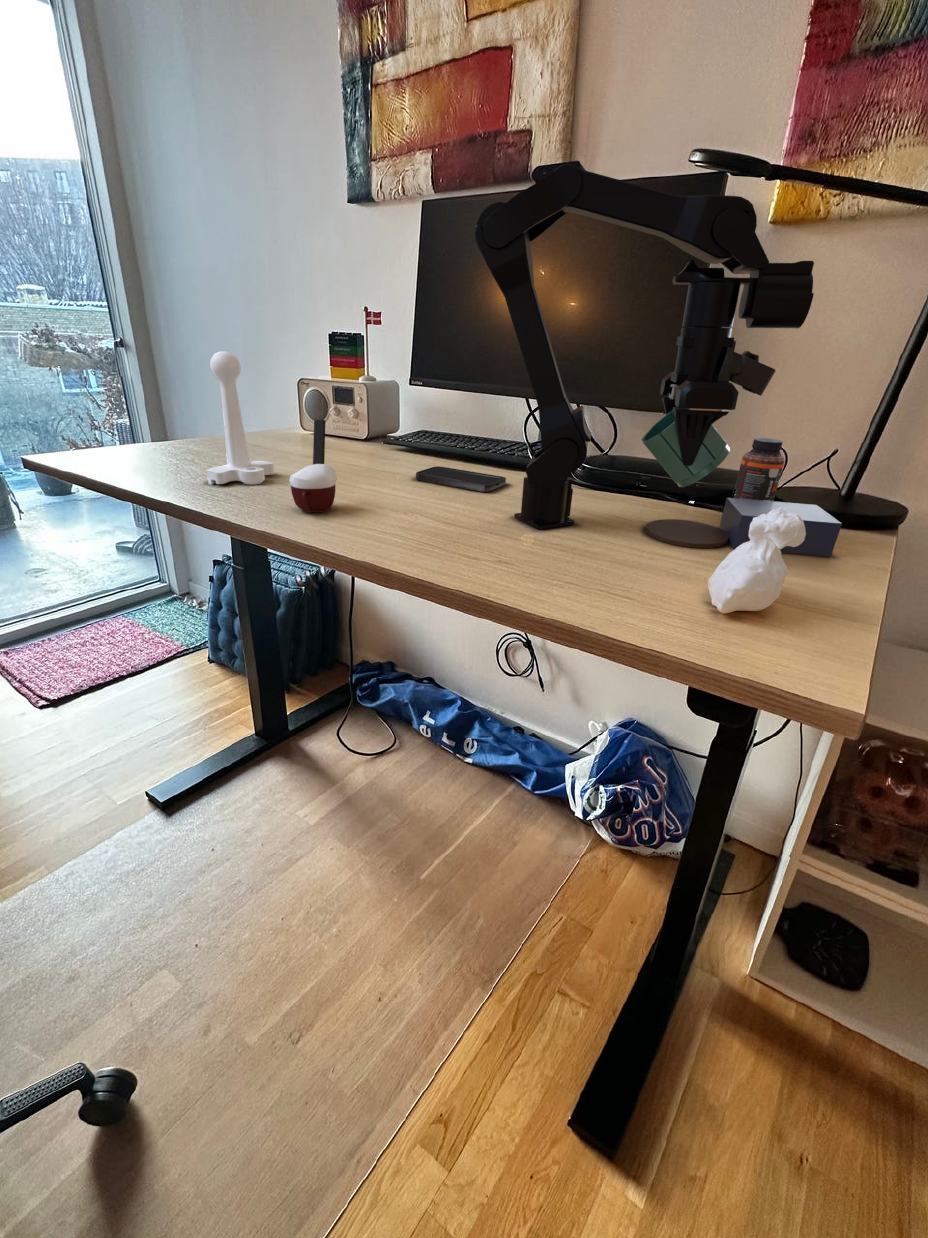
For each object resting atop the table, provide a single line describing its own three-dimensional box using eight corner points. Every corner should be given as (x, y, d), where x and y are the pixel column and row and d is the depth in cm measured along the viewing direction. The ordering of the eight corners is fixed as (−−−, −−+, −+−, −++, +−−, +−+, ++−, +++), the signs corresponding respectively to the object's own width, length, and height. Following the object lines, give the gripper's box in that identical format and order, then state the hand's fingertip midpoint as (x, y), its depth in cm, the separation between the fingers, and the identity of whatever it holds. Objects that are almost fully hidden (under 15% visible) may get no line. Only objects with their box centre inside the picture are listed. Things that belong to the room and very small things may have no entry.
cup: (645, 446, 73) (697, 402, 70) (639, 436, 80) (687, 396, 77) (683, 493, 75) (736, 453, 72) (674, 480, 82) (723, 442, 79)
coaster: (689, 552, 74) (690, 548, 74) (628, 528, 83) (629, 524, 82) (745, 541, 79) (746, 537, 79) (682, 519, 88) (683, 515, 87)
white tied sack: (733, 647, 57) (844, 576, 50) (679, 590, 57) (783, 513, 50) (741, 602, 66) (835, 538, 60) (694, 554, 66) (783, 485, 60)
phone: (436, 465, 109) (508, 477, 103) (436, 471, 110) (507, 483, 103) (413, 473, 103) (487, 485, 97) (413, 479, 104) (487, 492, 97)
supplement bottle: (774, 519, 90) (795, 444, 84) (733, 515, 91) (752, 441, 85) (764, 509, 95) (783, 437, 90) (725, 505, 96) (743, 435, 91)
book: (733, 548, 77) (741, 515, 75) (719, 528, 85) (726, 497, 82) (831, 557, 75) (842, 523, 73) (807, 535, 83) (817, 504, 81)
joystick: (260, 471, 105) (245, 350, 96) (287, 478, 101) (274, 352, 92) (203, 482, 97) (181, 350, 88) (230, 490, 93) (210, 353, 84)
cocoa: (312, 520, 80) (305, 430, 75) (278, 513, 83) (268, 425, 77) (354, 505, 88) (350, 422, 83) (321, 498, 90) (315, 418, 85)
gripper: (804, 328, 60) (767, 478, 67) (757, 329, 77) (731, 449, 84) (692, 326, 62) (667, 473, 69) (669, 327, 79) (651, 446, 85)
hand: (682, 459), depth 77 cm, fingers closed on cup, 7 cm apart
